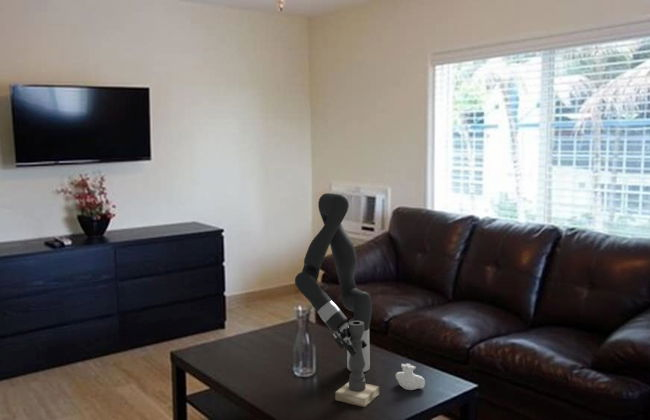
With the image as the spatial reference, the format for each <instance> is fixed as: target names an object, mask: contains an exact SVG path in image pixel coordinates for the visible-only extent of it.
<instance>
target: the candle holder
mask: <svg viewBox="0 0 650 420" xmlns="http://www.w3.org/2000/svg"><path fill="white" fill-rule="evenodd" d="M349 332H350V335H351V338H350V342H351V345H352V346H353V348H354V349H355V350H356V352H357V353H356V354H355V355H354V356H352V355H350V359H349V367H350V369H351V371H350V372H351V373H350V374H349V378H348V382H349V389H350V390H351V391H356V392H359V391H363V390H365V388H366V385H365V383H366V378H365V374H364V372H362V371H363V369H364V367H365V361H364V357H363V352H362V342H363V341H364V339H363V338H362V335H363V334H364V333H363V332H364V322H362V321H351V322H349Z"/></svg>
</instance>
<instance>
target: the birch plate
mask: <svg viewBox="0 0 650 420" xmlns="http://www.w3.org/2000/svg"><path fill="white" fill-rule="evenodd" d="M365 385H366V388H365V390H363V391H359V392H356V391H351V390H350V389H349V381H348V382H346V383H345V384H344V385H342V386H341V387H340V388H338V389H337V390H336V391H335V392H334V393H335V395H334V396H335V397H334V398H335V401H337V402H338V401H339V402H342V403H347V404H349V405H350V404H351V405H354V406H359V407H363V408H365V407H367V406H368V404H370V403H372V401H373V400H375V399H376V398H377V396H379V395H380V386H378V385H374V384H369V383H366V382H365Z"/></svg>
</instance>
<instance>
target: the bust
mask: <svg viewBox="0 0 650 420" xmlns="http://www.w3.org/2000/svg"><path fill="white" fill-rule="evenodd" d="M400 367H401V368H402V369H401V370H402V371H398V372H396V373H395V379H396V381H397V382H398V385H399V386H401V387H402V389H404V390H407V391H413V390H417V389H423V388H424V387H425V385H426V380H425V378H424V377H423V376H422V375H418V374H416V373H414V370H415V369H417V367H416V366H414V365H413V364H411V363H401V366H400Z"/></svg>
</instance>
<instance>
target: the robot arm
mask: <svg viewBox="0 0 650 420" xmlns="http://www.w3.org/2000/svg"><path fill="white" fill-rule="evenodd" d="M317 204H318V211H319V214H320V217H321V219H322V222H323V226H322V227H321V229H320V230H319V231H318V233H317V234H316V235H315V237H314V238H313V239H312V240H311V242H310V244H309V246H308V248H307V251H306V253H305V257H304V259H303V267H302V270H301V272H299V273H297V275H296V276H295V277H294V278H295V279H294V284H295V286H296V288H297V290H299V292H300V293H301V294H302V295H303V296H304V298H306V299H307V300H308V302H309V303H310V305H311V306H312V307H313V309H315V311H316V312H317V314H318V315H319V318H321V320H322V321H323V322H324V324H325V325H326V326H327V328H328V329H330V331H331V332H332V333H333V334H331V337H332V338H333V340H334V342H335V343H336V345H338V347H339V348H340V349H346V353H347V354H346V356H347V357H346V358H347V359H346V360H347V361H346V365H347V370H348V371H349V372H351V369H350V367H349V359H350V355H352V356H354V355H355V354H356V353H357V352H356V350H355V349H354V348H353V346H352V345H351V342H350V338H351V335H350V332H349V322H351V321H362V322H364V332H363V333H364V334H363V335H362V338H363V339H364V341H363V342H362V352H363V357H364V361H365V367H364V369H363V371H362V372H363V373H364V372H367V371H369V370H370V367H371V357H370V356H371V355H370V354H371V352H370V351H371V348H370V347H371V346H370V345H371V344H370V323H371V322H372V321H371V320H372V308H373V307H372V303H373V302H372V298H371V295H370V293H368V292H366V291H363V290H360V289H358V287H357V285H356V281H355V272H356V268H357V264H358V258H357V253H356V249H355V248H356V247H355V245H354V243H353V241H352V239H351V238H350V236H349V234H348V233H347V231H346V230H345V229H344V227H343V224H342V222H343V220H344V218H345V217H346V215H347V213H348V210H349V200H348V198H347V197H346V196H345V195H343V194H338V193H323V194H322V195H321V196H320V197H319V199H318V203H317ZM329 246H330V250H331V254H332V258H333V262H334V266H335V268H336V269H335V270H336V274H337V277H338V282H339V287H340V295H341V301H342V304H343V306H344V308H345V309H346V310H348V311H349V312H353V318H351V319H349V320H348V317H347V316H346V315H345V313H344V312H343V311H342V310H341V308H340V307H339V306H338V305H337V304H336V303H335V302H334V301H333V300H332V298H331V297H330V296H329V295H328V293H327V292H325V290H323V289H322V288H321V287H320V285H319V284H318V283H317V282H318V279H319V276H320V275H319V274H320V270H321V267H322V265H323V262H324V261H325V256H326V255H327V251H328V249H329Z"/></svg>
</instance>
